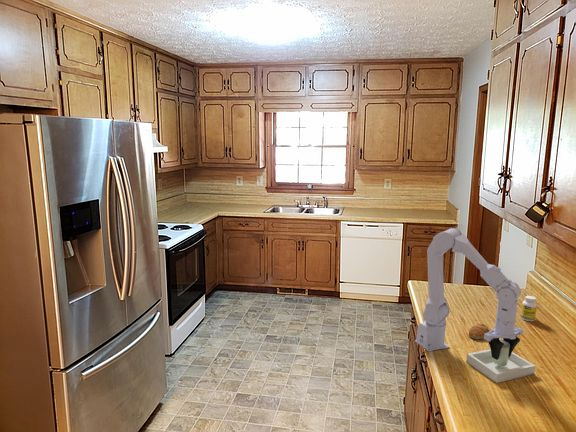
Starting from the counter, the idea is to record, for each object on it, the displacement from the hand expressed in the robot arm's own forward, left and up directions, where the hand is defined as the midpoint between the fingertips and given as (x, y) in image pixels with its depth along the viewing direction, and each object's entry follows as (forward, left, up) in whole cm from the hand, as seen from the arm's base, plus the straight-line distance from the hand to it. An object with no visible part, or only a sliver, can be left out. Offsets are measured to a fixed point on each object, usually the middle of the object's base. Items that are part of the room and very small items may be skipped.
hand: (500, 357), depth 139 cm
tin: (0, 0, -2) cm, 2 cm away
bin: (0, 0, -4) cm, 4 cm away
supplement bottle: (+42, +26, -4) cm, 50 cm away
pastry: (+11, +21, -4) cm, 24 cm away
